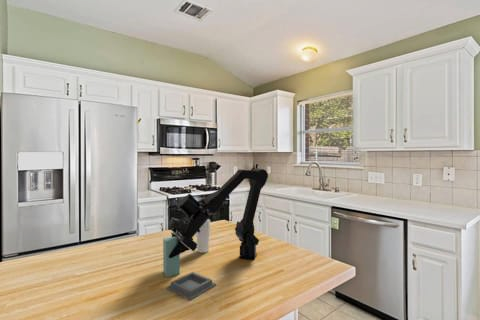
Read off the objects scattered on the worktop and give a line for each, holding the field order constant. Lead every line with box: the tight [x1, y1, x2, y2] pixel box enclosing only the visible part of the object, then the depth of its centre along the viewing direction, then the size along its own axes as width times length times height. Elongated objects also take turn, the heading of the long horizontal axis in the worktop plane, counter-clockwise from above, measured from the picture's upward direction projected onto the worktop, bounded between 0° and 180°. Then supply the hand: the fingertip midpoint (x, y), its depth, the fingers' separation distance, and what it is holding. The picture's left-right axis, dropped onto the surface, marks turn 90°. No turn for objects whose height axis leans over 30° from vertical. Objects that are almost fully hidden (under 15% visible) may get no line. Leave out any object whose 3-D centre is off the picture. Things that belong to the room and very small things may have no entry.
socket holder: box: [165, 271, 217, 301], centre depth 92 cm, size 12×12×2 cm
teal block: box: [162, 236, 181, 278], centre depth 103 cm, size 5×5×13 cm
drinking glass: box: [195, 219, 211, 254], centre depth 125 cm, size 7×7×15 cm
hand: (167, 255), depth 102 cm, fingers closed on teal block, 5 cm apart
